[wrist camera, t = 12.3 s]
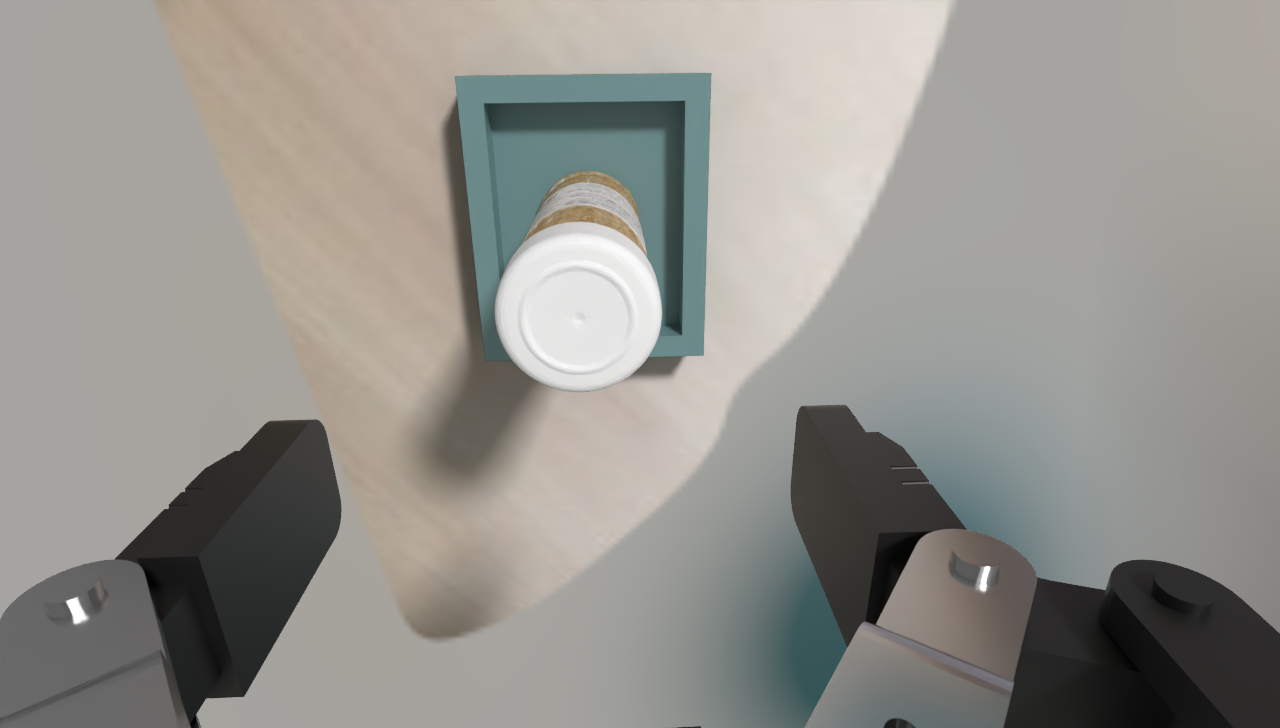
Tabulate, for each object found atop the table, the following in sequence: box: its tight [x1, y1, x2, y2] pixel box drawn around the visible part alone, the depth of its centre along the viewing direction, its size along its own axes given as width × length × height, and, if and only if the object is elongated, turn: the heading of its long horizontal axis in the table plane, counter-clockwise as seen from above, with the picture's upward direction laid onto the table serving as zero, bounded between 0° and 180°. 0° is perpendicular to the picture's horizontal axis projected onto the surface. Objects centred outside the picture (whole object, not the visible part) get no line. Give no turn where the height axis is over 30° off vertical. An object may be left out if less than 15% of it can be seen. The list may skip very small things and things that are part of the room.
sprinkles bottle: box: [495, 171, 662, 392], centre depth 25 cm, size 5×5×14 cm
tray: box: [455, 73, 711, 361], centre depth 31 cm, size 12×10×2 cm
